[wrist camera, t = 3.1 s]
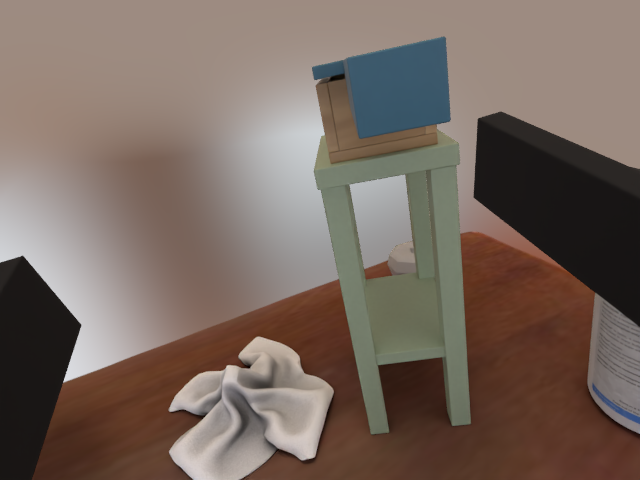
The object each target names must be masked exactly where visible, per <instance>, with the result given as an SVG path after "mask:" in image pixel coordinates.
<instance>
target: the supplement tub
mask: <svg viewBox="0 0 640 480" xmlns="http://www.w3.org/2000/svg"><path fill="white" fill-rule="evenodd" d="M588 388H589V391H590V394H591V396H592V397H593V399H594V400H595V402H596V403H597V404H598V405H599V407H600V408H601V409H602V410H603V411H604V412H605V413H606V414H607V415H609V416H610V417H611V418H612V419H614V420H615V421H616V422H618V423H620V424H621V425H623V426H625V427H626V428H628V429H630V430H632V431H635V432H637V433H639V434H640V327H639V326H638V325H636V324H635V323H634V322H632V321H631V320H630V319H629V318H627V317H626V316H625V315H623V314H622V313H621V312H620V311H618V310H617V309H616V308H614V307H613V306H612V305H611V304H609V303H608V302H607V301H605V300H604V299H603V298H602V297H600V296H599V295H598V294H597V293H595V300H594V311H593V322H592V333H591V344H590V356H589V367H588Z"/></svg>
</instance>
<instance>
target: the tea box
mask: <svg viewBox="0 0 640 480" xmlns="http://www.w3.org/2000/svg"><path fill="white" fill-rule="evenodd" d="M316 90H317V95H318V100H319V106H320V111H321V116H322V121H323V127H324V132H325V137H326V143H327V148H328V152H329V159H330V164H334V163H339V162H344V161H350V160H355V159H360V158H366V157H371V156H376V155H382V154H387V153H392V152H398V151H403V150H408V149H414V148H419V147H424V146H430V145H435V144H438V137H437V125H436V124H435V125H430V126H425V127H420V128H414V129H409V130H404V131H399V132H394V133H389V134H383V135H378V136H373V137H368V138H363V139H359V137H358V134H357V130H356V127H355V123H354V120H353V116H352V113H351V109H350V104H349V98H348V91H347V85H346V79H345V74H341V75H336V76H331V77H327V78H322V80H321V81H319V83H318V84H317V85H316Z"/></svg>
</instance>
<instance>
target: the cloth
mask: <svg viewBox="0 0 640 480" xmlns="http://www.w3.org/2000/svg"><path fill="white" fill-rule="evenodd" d="M238 357H239V359H241V361H242V362H243V363H244V364H245V365H247V366H251V367H250V369H247V368H240V367H238V366H232V365H227V367H226V369H225V370H224V371H208V372H204V373H200V374H198V375H197V376H196V377H194V378H193V379H192V380H191V381H190V382H188V383H187V384H186V385H185V386H184V387H183V388H182V389H181V390H180V392H179V393H178V394H177V395H176V396H175V397H174V399H173V402H172V404H171V406H170V408H169V411H170V412H173V411H177V410H182V409H184V410H186V411H189V412H191V413H193V414H197V415H206V414H207V415H206V416H205V417H204V418H203V419H202V420H201V421H200V422H199V423H198V424H197V425H196V426H194V427H193V428H191V429H190V430H189V431H187V432H186V433H185V434H184V435H182V436H181V437H180V438H179V439H178V440H177V441H176V442H175V443H174V445H173V446H172V448H171V449H170V451H169V454H170V455H171V457H172V459H173V460H174V462H175V463H176V464H177V465H178V466H180V467H181V468H182V469H183V470H184V471H185V472H186V473H187V474H188V475H189V476H190V477H191V478H192V479H193V480H240V479H242V478H244V477H245V476H247V475H248V474H250V473H251V472H253V471H254V470H256V469H257V468H259V467H260V466H261V465H262V464H264V463H265V462H266V461H267V460H268V459H269V458H270V457H271V456H272V455H273V454H274V453H275V451H276V450H277V449H281V450H284V451H286V452H289V453H291V454H293V455H295V456H297V457H298V458H299V459H300V460H306V459H311V458H314V457H315V455H316V451H317V447H318V443H319V439H320V435H321V432H322V429H323V425H324V422H325V418H326V414H327V411H328V408H329V405H330V402H331V399H332V396H333V393H334V391H333V388H332V387H331V386H330V385H329V384H328V383H327V382H325V381H324V380H322V379H320V378H318V377H316V376H311V375H307V374H305V373H304V372H303V370H302V368H301V364H300V357H299V356H298V354H297V353H296V352H295V351H293V350H292V349H291V348H289V347H287V346H286V345H283V344H281V343H278V342H275V341H272V340H268V339H265V338H262V337H256V338H255V339H254V340H253V341H252V342H251V343H249V344H248V345H247V346H246V347H245V348H244V349H243V350H242V351H241V352H240V354H239V356H238Z"/></svg>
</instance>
